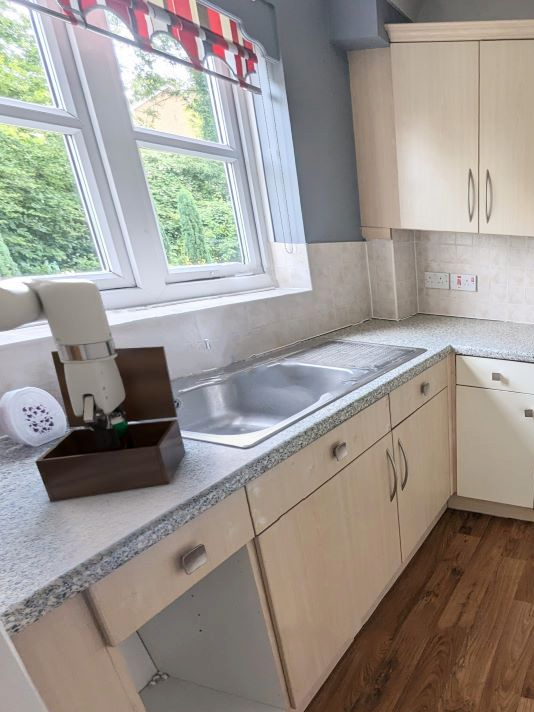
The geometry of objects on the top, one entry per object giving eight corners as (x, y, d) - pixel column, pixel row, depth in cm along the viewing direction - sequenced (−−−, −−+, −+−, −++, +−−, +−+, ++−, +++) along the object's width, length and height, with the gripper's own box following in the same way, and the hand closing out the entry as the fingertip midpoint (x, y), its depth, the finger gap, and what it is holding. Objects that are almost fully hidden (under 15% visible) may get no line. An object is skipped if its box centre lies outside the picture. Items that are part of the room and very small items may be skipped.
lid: (162, 346, 93) (164, 346, 94) (50, 351, 86) (53, 351, 87) (176, 417, 96) (177, 416, 97) (69, 427, 89) (71, 426, 90)
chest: (169, 484, 87) (159, 446, 85) (50, 501, 80) (34, 461, 78) (185, 452, 99) (177, 418, 97) (83, 465, 92) (71, 429, 90)
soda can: (140, 463, 93) (125, 409, 89) (141, 473, 89) (125, 417, 85) (107, 470, 90) (90, 414, 86) (106, 481, 86) (88, 423, 82)
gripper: (80, 341, 87) (106, 427, 93) (35, 364, 72) (70, 465, 79) (129, 339, 90) (152, 422, 96) (96, 361, 75) (125, 458, 82)
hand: (114, 440), depth 87 cm, fingers closed on soda can, 5 cm apart
